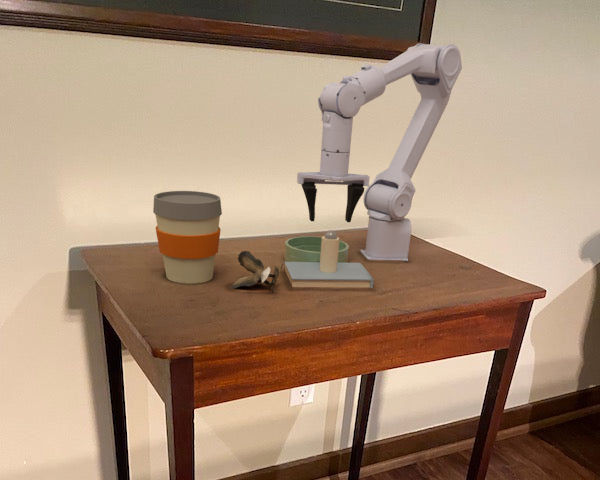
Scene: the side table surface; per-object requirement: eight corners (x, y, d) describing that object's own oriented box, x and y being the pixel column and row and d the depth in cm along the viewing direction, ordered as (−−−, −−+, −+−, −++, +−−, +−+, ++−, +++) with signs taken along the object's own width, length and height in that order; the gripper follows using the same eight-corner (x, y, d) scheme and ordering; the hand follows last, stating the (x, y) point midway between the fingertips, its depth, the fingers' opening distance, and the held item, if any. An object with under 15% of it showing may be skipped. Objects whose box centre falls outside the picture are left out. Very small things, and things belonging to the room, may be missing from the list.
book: (359, 273, 129) (360, 262, 128) (372, 290, 119) (374, 279, 118) (283, 272, 126) (284, 261, 125) (291, 289, 117) (291, 278, 116)
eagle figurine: (282, 277, 119) (238, 263, 120) (284, 253, 113) (238, 238, 113) (269, 307, 116) (224, 293, 116) (271, 284, 109) (223, 269, 110)
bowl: (339, 254, 141) (341, 236, 139) (353, 272, 129) (355, 253, 127) (280, 253, 139) (281, 235, 137) (288, 271, 127) (289, 252, 125)
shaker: (334, 267, 124) (338, 228, 120) (338, 273, 121) (342, 232, 117) (317, 267, 123) (320, 228, 119) (320, 272, 120) (324, 232, 116)
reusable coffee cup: (177, 263, 127) (174, 188, 120) (232, 272, 124) (233, 195, 117) (144, 280, 117) (138, 198, 109) (203, 290, 113) (202, 207, 106)
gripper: (302, 152, 117) (298, 224, 124) (376, 155, 119) (368, 226, 126) (297, 147, 123) (293, 216, 130) (367, 150, 126) (360, 218, 132)
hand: (329, 220), depth 128 cm, fingers open, 7 cm apart
